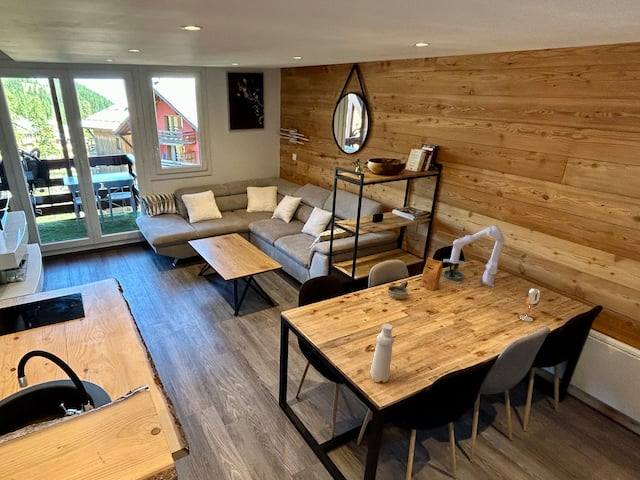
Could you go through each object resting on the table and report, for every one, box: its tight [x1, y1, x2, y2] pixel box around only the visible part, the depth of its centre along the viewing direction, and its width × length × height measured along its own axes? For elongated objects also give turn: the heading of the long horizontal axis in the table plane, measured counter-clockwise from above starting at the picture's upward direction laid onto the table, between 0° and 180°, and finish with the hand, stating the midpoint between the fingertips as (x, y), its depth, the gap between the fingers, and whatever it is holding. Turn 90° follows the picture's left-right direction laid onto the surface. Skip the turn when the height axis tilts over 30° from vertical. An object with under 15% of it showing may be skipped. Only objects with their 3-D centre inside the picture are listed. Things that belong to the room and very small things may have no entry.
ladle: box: [448, 268, 456, 278], centre depth 295 cm, size 4×4×7 cm
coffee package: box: [420, 256, 444, 291], centre depth 279 cm, size 10×12×22 cm
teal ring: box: [443, 269, 465, 282], centre depth 295 cm, size 14×14×4 cm
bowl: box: [387, 280, 409, 300], centre depth 266 cm, size 14×18×10 cm
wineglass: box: [518, 288, 541, 323], centre depth 242 cm, size 8×8×20 cm
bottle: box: [369, 323, 395, 383], centre depth 186 cm, size 9×9×30 cm
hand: (451, 271), depth 294 cm, fingers closed on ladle, 2 cm apart
